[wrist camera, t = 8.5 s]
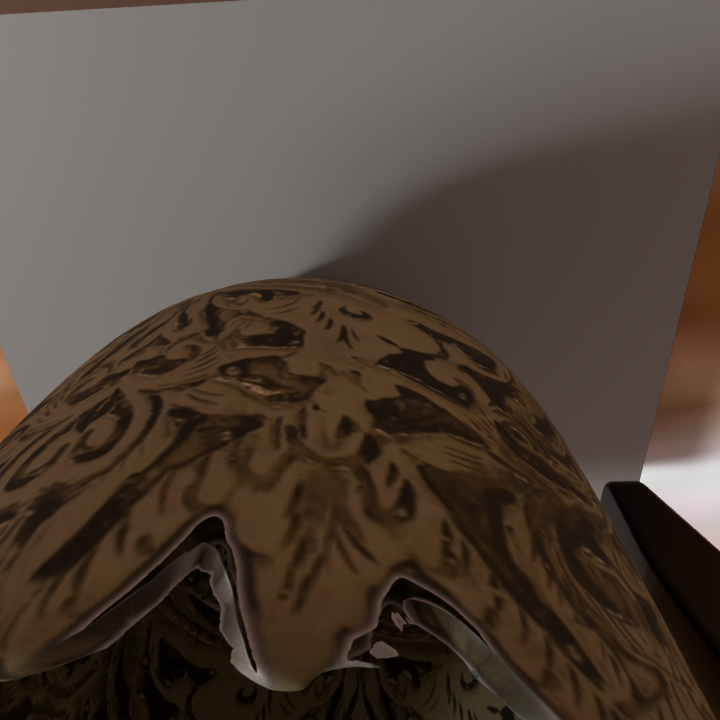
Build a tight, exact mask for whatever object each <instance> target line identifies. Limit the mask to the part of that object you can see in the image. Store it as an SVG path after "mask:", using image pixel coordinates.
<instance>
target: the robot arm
mask: <svg viewBox="0 0 720 720" xmlns="http://www.w3.org/2000/svg"><path fill="white" fill-rule="evenodd" d="M600 502H601V504H602V506H603V508H604V510H605V512H606V513H607V515H608V517H609V519H610V521H611V523H612V524H613V526H614V528H615V530H616V532H617V534H618V535H619V537H620V539H621V541H622V543H623V545H624V546H625V548H626V550H627V552H628V554H629V556H630V558H631V559H632V561H633V563H634V565H635V567H636V569H637V571H638V572H639V574H640V576H641V578H642V580H643V582H644V584H645V585H646V587H647V589H648V591H649V593H650V595H651V597H652V599H653V600H654V602H655V604H656V606H657V608H658V610H659V612H660V614H661V615H662V617H663V619H664V621H665V623H666V625H667V627H668V629H669V631H670V632H671V634H672V636H673V638H674V640H675V642H676V644H677V646H678V648H679V650H680V651H681V653H682V655H683V657H684V659H685V661H686V663H687V665H688V667H689V668H690V670H691V672H692V674H693V676H694V678H695V680H696V682H697V684H698V686H699V688H700V689H701V691H702V693H703V695H704V697H705V699H706V701H707V703H708V705H709V707H710V708H711V710H712V712H713V714H714V716H715V718H716V720H720V551H719V550H718V549H717V548H716V547H715V546H714V545H713V544H711V543H710V542H709V541H708V540H707V539H706V538H705V537H703V536H702V535H701V534H700V533H699V532H698V531H697V530H696V529H694V528H693V527H692V526H691V525H690V524H689V523H688V522H686V521H685V520H684V519H683V518H682V517H681V516H680V515H679V514H677V513H676V512H675V511H674V510H673V509H672V508H671V507H669V506H668V505H667V504H666V503H665V502H664V501H663V500H661V499H660V498H659V497H658V496H657V495H656V494H655V493H654V492H652V491H651V490H650V489H649V488H648V487H647V486H646V485H644V484H643V483H641V482H639V481H611V482H608V483H606V484H605V486H604V488H603V491H602V495H601V500H600Z"/></svg>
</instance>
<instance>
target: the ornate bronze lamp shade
mask: <svg viewBox="0 0 720 720" xmlns="http://www.w3.org/2000/svg"><path fill="white" fill-rule="evenodd" d="M0 720H716V718H715V716H714V714H713V712H712V710H711V708H710V707H709V705H708V703H707V701H706V699H705V697H704V695H703V693H702V691H701V689H700V688H699V686H698V684H697V682H696V680H695V678H694V676H693V674H692V672H691V670H690V668H689V667H688V665H687V663H686V661H685V659H684V657H683V655H682V653H681V651H680V650H679V648H678V646H677V644H676V642H675V640H674V638H673V636H672V634H671V632H670V631H669V629H668V627H667V625H666V623H665V621H664V619H663V617H662V615H661V614H660V612H659V610H658V608H657V606H656V604H655V602H654V600H653V599H652V597H651V595H650V593H649V591H648V589H647V587H646V585H645V584H644V582H643V580H642V578H641V576H640V574H639V572H638V571H637V569H636V567H635V565H634V563H633V561H632V559H631V558H630V556H629V554H628V552H627V550H626V548H625V546H624V545H623V543H622V541H621V539H620V537H619V535H618V534H617V532H616V530H615V528H614V526H613V524H612V523H611V521H610V519H609V517H608V515H607V513H606V512H605V510H604V508H603V506H602V504H601V502H600V501H599V499H598V497H597V495H596V494H595V492H594V490H593V488H592V487H591V485H590V483H589V482H588V480H587V478H586V476H585V475H584V473H583V471H582V470H581V468H580V466H579V465H578V463H577V461H576V459H575V458H574V456H573V454H572V453H571V451H570V449H569V448H568V446H567V444H566V442H565V441H564V439H563V437H562V436H561V434H560V433H559V432H558V430H557V429H556V427H555V426H554V424H553V423H552V421H551V420H550V418H549V417H548V415H547V414H546V413H545V411H544V410H543V408H542V407H541V406H540V404H539V403H538V402H537V401H536V399H535V398H534V397H533V396H532V394H531V393H530V392H529V391H528V389H527V388H526V387H525V386H524V385H523V383H522V382H521V381H520V380H519V379H518V378H517V377H516V376H515V374H514V373H513V372H512V371H511V370H510V369H509V368H508V367H507V366H506V365H505V364H504V363H503V362H502V361H501V360H500V359H499V358H498V357H497V356H496V355H495V354H494V353H493V352H492V351H491V350H490V349H489V348H487V347H486V346H485V345H483V344H482V343H481V342H480V341H478V340H477V339H476V338H474V337H473V336H472V335H470V334H469V333H468V332H466V331H465V330H463V329H462V328H460V327H458V326H457V325H455V324H454V323H452V322H450V321H449V320H447V319H445V318H443V317H442V316H440V315H438V314H437V313H435V312H433V311H432V310H430V309H428V308H426V307H423V306H421V305H419V304H417V303H415V302H413V301H410V300H408V299H406V298H404V297H401V296H398V295H395V294H392V293H389V292H386V291H383V290H380V289H377V288H373V287H368V286H364V285H359V284H355V283H351V282H344V281H338V280H328V279H320V278H279V279H266V280H257V281H252V282H246V283H241V284H236V285H231V286H227V287H224V288H220V289H217V290H214V291H210V292H207V293H204V294H200V295H197V296H194V297H191V298H188V299H186V300H183V301H181V302H179V303H177V304H174V305H172V306H170V307H167V308H165V309H163V310H161V311H159V312H158V313H156V314H154V315H152V316H151V317H149V318H147V319H146V320H144V321H142V322H140V323H139V324H137V325H136V326H134V327H132V328H131V329H129V330H128V331H126V332H125V333H123V334H121V335H120V336H118V337H117V338H115V339H114V340H113V341H111V342H110V343H109V344H108V345H106V346H105V347H104V348H102V349H101V350H100V351H99V352H97V353H96V354H95V355H93V356H92V357H91V358H90V359H89V360H87V361H86V362H85V363H84V364H83V365H81V366H80V367H79V368H78V369H77V370H75V371H74V372H73V373H72V374H71V375H69V376H68V377H67V378H66V379H65V380H64V381H63V382H61V383H60V384H59V385H58V386H57V387H56V388H55V389H54V390H53V391H52V392H51V393H50V394H49V395H48V396H47V397H46V398H45V399H44V400H43V401H42V402H40V403H39V404H38V405H37V406H36V407H35V408H34V409H33V410H32V411H31V412H30V413H29V414H28V415H27V416H26V417H25V418H24V419H23V420H22V421H21V422H20V423H19V424H18V425H17V426H16V428H15V429H14V430H13V431H12V432H11V433H10V434H9V435H8V436H7V437H6V438H5V439H4V440H3V441H2V442H1V443H0Z"/></svg>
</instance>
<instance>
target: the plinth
mask: <svg viewBox="0 0 720 720" xmlns="http://www.w3.org/2000/svg"><path fill="white" fill-rule="evenodd" d="M719 155H720V0H0V347H1V349H2V352H3V354H4V356H5V359H6V361H7V363H8V366H9V368H10V371H11V373H12V375H13V378H14V380H15V382H16V385H17V387H18V389H19V392H20V394H21V397H22V399H23V401H24V404H25V406H26V408H27V411H28V413H30V412H31V411H32V410H33V409H34V408H35V407H36V406H37V405H38V404H39V403H40V402H42V401H43V400H44V399H45V398H46V397H47V396H48V395H49V394H50V393H51V392H52V391H53V390H54V389H55V388H56V387H57V386H58V385H59V384H60V383H61V382H63V381H64V380H65V379H66V378H67V377H68V376H69V375H71V374H72V373H73V372H74V371H75V370H77V369H78V368H79V367H80V366H81V365H83V364H84V363H85V362H86V361H87V360H89V359H90V358H91V357H92V356H93V355H95V354H96V353H97V352H99V351H100V350H101V349H102V348H104V347H105V346H106V345H108V344H109V343H110V342H111V341H113V340H114V339H115V338H117V337H118V336H120V335H121V334H123V333H125V332H126V331H128V330H129V329H131V328H132V327H134V326H136V325H137V324H139V323H140V322H142V321H144V320H146V319H147V318H149V317H151V316H152V315H154V314H156V313H158V312H159V311H161V310H163V309H165V308H167V307H170V306H172V305H174V304H177V303H179V302H181V301H183V300H186V299H188V298H191V297H194V296H197V295H200V294H204V293H207V292H210V291H214V290H217V289H220V288H224V287H227V286H231V285H236V284H241V283H246V282H252V281H257V280H266V279H279V278H320V279H328V280H338V281H344V282H351V283H355V284H359V285H364V286H368V287H373V288H377V289H380V290H383V291H386V292H389V293H392V294H395V295H398V296H401V297H404V298H406V299H408V300H410V301H413V302H415V303H417V304H419V305H421V306H423V307H426V308H428V309H430V310H432V311H433V312H435V313H437V314H438V315H440V316H442V317H443V318H445V319H447V320H449V321H450V322H452V323H454V324H455V325H457V326H458V327H460V328H462V329H463V330H465V331H466V332H468V333H469V334H470V335H472V336H473V337H474V338H476V339H477V340H478V341H480V342H481V343H482V344H483V345H485V346H486V347H487V348H489V349H490V350H491V351H492V352H493V353H494V354H495V355H496V356H497V357H498V358H499V359H500V360H501V361H502V362H503V363H504V364H505V365H506V366H507V367H508V368H509V369H510V370H511V371H512V372H513V373H514V374H515V376H516V377H517V378H518V379H519V380H520V381H521V382H522V383H523V385H524V386H525V387H526V388H527V389H528V391H529V392H530V393H531V394H532V396H533V397H534V398H535V399H536V401H537V402H538V403H539V404H540V406H541V407H542V408H543V410H544V411H545V413H546V414H547V415H548V417H549V418H550V420H551V421H552V423H553V424H554V426H555V427H556V429H557V430H558V432H559V433H560V434H561V436H562V437H563V439H564V441H565V442H566V444H567V446H568V448H569V449H570V451H571V453H572V454H573V456H574V458H575V459H576V461H577V463H578V465H579V466H580V468H581V470H582V471H583V473H584V475H585V476H586V478H587V480H588V482H589V483H590V485H591V487H592V488H593V490H594V492H595V494H596V495H597V497H598V499H599V501H600V500H601V495H602V491H603V488H604V486H605V484H606V483H608V482H611V481H640V476H641V472H642V468H643V464H644V460H645V456H646V452H647V448H648V444H649V440H650V436H651V432H652V428H653V423H654V419H655V415H656V411H657V407H658V403H659V399H660V395H661V391H662V387H663V383H664V379H665V375H666V371H667V366H668V362H669V358H670V354H671V350H672V346H673V342H674V338H675V334H676V330H677V326H678V322H679V318H680V314H681V309H682V305H683V301H684V297H685V293H686V289H687V285H688V281H689V277H690V273H691V269H692V265H693V261H694V257H695V252H696V248H697V244H698V240H699V236H700V232H701V228H702V224H703V220H704V216H705V212H706V208H707V204H708V200H709V195H710V191H711V187H712V183H713V179H714V175H715V171H716V167H717V163H718V159H719Z"/></svg>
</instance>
